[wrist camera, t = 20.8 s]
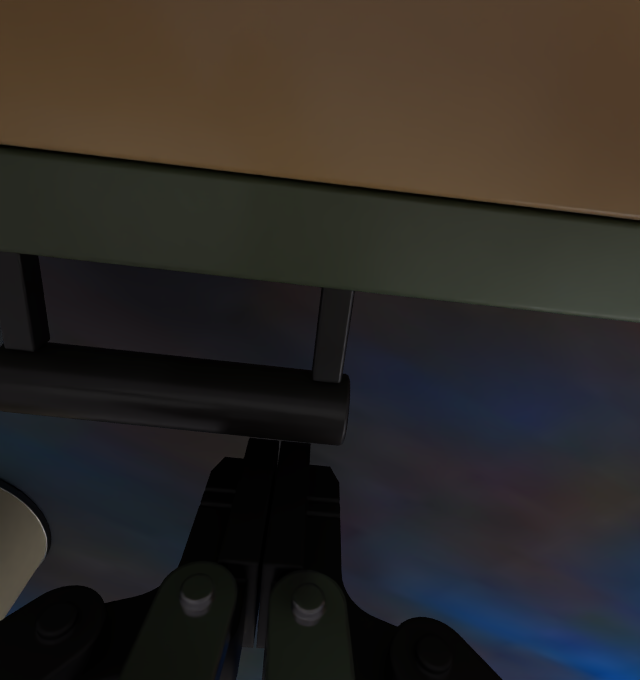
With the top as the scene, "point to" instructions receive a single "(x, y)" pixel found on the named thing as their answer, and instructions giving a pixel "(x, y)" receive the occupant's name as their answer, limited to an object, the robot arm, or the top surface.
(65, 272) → the top surface
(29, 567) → the tin can
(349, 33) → the cabinet
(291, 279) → the drawer
